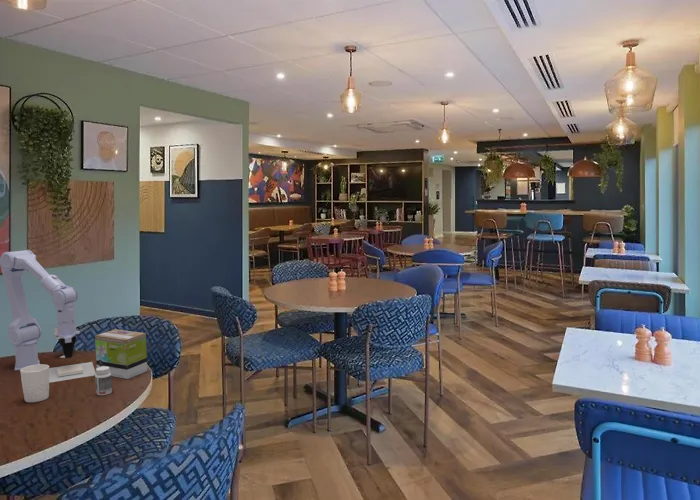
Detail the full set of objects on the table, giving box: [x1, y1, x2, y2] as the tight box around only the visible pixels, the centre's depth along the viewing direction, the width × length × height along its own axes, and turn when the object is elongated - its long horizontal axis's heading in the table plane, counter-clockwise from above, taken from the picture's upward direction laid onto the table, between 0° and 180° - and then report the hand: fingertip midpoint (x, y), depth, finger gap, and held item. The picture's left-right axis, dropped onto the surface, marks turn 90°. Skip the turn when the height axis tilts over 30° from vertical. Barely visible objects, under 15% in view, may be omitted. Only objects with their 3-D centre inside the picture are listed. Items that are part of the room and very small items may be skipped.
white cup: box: [19, 363, 50, 403], centre depth 169 cm, size 8×8×10 cm
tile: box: [57, 365, 83, 377], centre depth 193 cm, size 1×8×7 cm
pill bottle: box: [94, 366, 113, 396], centre depth 173 cm, size 5×5×8 cm
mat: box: [49, 361, 96, 384], centre depth 194 cm, size 18×16×1 cm
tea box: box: [94, 328, 148, 380], centre depth 193 cm, size 15×10×15 cm, turn 68°
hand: (68, 357), depth 195 cm, fingers closed
